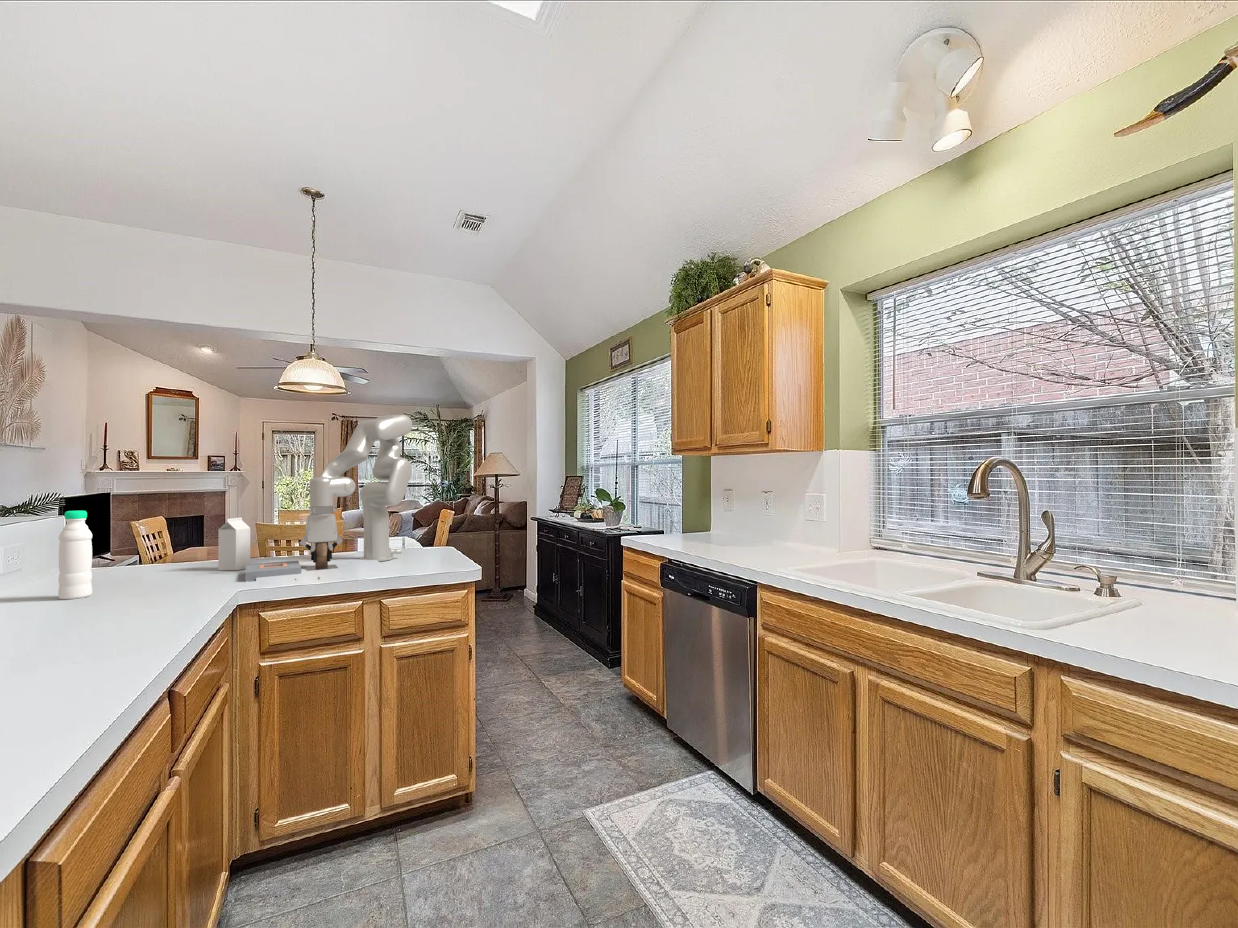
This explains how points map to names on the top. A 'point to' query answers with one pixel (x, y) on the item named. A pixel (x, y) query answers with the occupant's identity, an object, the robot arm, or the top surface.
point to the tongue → (320, 568)
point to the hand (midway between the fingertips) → (321, 561)
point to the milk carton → (233, 545)
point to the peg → (321, 555)
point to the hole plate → (271, 569)
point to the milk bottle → (75, 557)
